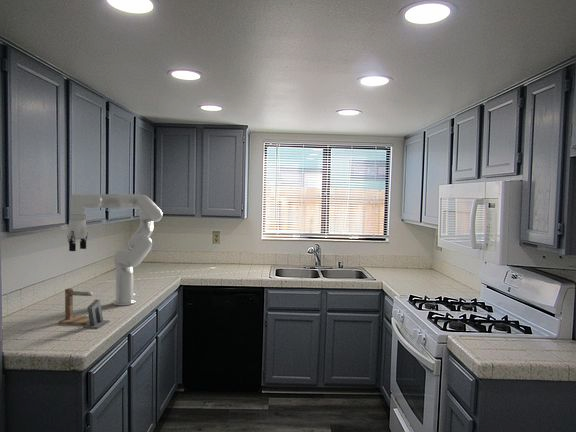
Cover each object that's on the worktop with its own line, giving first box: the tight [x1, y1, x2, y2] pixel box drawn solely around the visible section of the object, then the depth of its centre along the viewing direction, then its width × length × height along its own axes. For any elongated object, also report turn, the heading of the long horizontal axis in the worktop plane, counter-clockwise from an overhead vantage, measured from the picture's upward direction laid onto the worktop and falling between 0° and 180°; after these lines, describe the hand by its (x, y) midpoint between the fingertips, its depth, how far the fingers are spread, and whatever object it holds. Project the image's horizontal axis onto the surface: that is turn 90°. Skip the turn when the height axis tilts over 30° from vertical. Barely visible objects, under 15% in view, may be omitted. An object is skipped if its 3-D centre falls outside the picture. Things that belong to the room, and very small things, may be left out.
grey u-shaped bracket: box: [86, 299, 104, 326], centre depth 203 cm, size 8×2×11 cm, turn 175°
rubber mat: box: [82, 319, 110, 329], centre depth 204 cm, size 11×8×1 cm
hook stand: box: [58, 288, 93, 326], centre depth 208 cm, size 14×10×16 cm
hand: (77, 249), depth 224 cm, fingers open, 9 cm apart
